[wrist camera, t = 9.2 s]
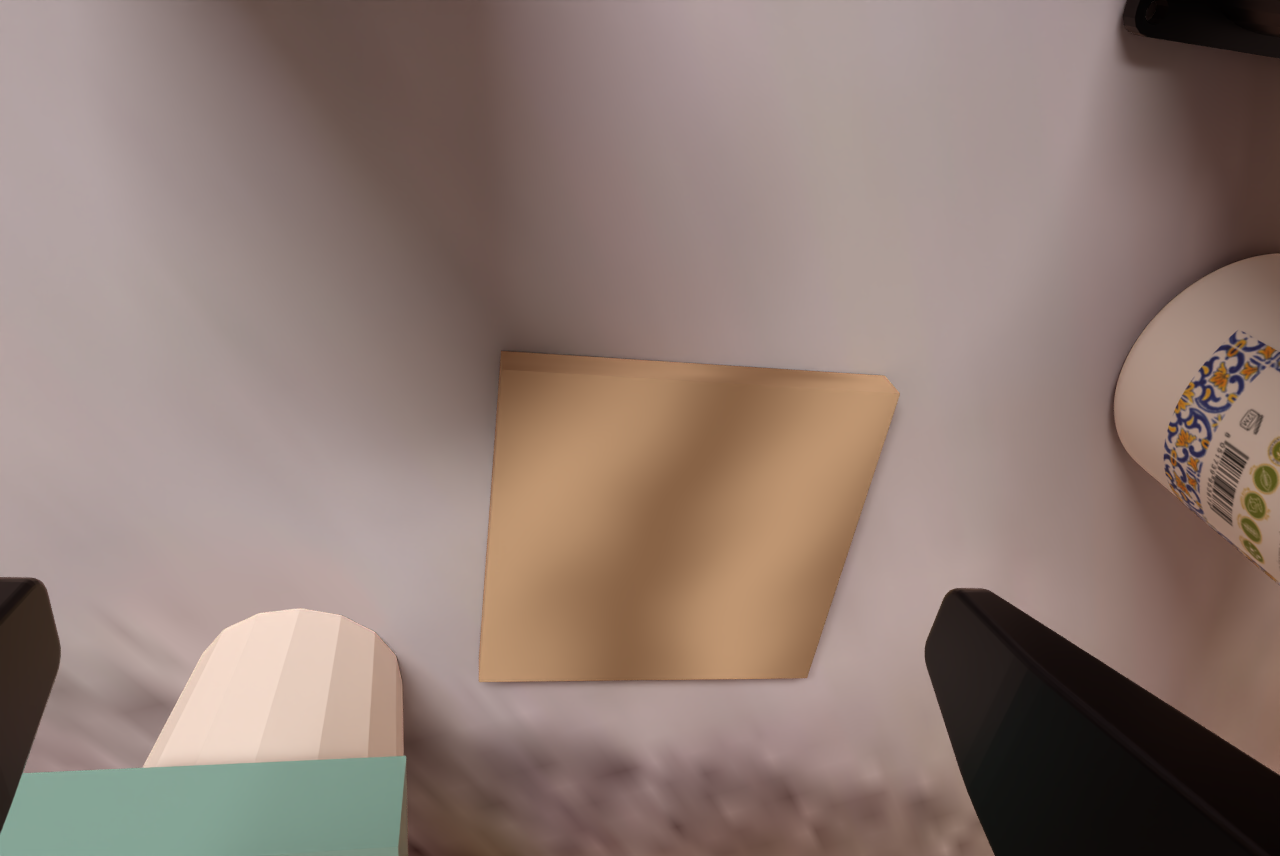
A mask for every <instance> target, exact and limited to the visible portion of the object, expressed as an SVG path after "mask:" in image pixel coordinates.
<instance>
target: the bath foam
mask: <svg viewBox="0 0 1280 856" xmlns="http://www.w3.org/2000/svg"><path fill="white" fill-rule="evenodd" d="M1114 419H1115V425H1116V429H1117V433H1118V435H1119V438H1120V440H1121V442H1122V444H1123V446H1124V448H1125V449H1126V451H1127V452H1128V453H1129V455H1130V456H1131V457H1132V458H1133V459H1134V460H1135V461H1136V462H1137V463H1138V464H1139V465H1140V466H1141V467H1142V468H1143V469H1144V470H1146V471H1147V472H1148V473H1149V474H1150V475H1151V476H1153V477H1154V478H1155V479H1156V480H1157V481H1158V482H1160V483H1161V484H1162V485H1163V486H1164V487H1165V488H1167V489H1168V490H1169V491H1170V492H1171V493H1173V494H1174V495H1175V496H1176V497H1177V498H1178V499H1179V500H1180V501H1181V502H1182V503H1183V504H1184V505H1186V506H1187V507H1188V508H1189V509H1190V510H1191V511H1193V512H1194V513H1195V514H1196V515H1197V516H1199V517H1200V518H1201V519H1202V520H1203V521H1204V522H1206V523H1207V524H1208V525H1209V526H1210V527H1211V528H1213V529H1214V530H1215V531H1216V532H1217V533H1219V534H1220V535H1221V536H1222V537H1223V538H1224V539H1226V540H1227V541H1228V542H1229V543H1230V544H1232V545H1233V546H1234V547H1235V548H1236V549H1237V550H1239V551H1240V552H1241V553H1242V554H1243V555H1244V556H1246V557H1247V558H1248V559H1249V560H1250V561H1252V562H1253V563H1254V564H1255V565H1256V566H1257V567H1259V568H1260V569H1261V570H1262V571H1263V572H1264V573H1266V574H1267V575H1268V576H1269V577H1270V578H1272V579H1273V580H1274V581H1275V582H1276V583H1277V584H1279V585H1280V253H1275V254H1266V255H1260V256H1255V257H1251V258H1247V259H1244V260H1241V261H1237V262H1235V263H1232V264H1229V265H1227V266H1225V267H1222V268H1220V269H1218V270H1216V271H1214V272H1212V273H1210V274H1208V275H1206V276H1205V277H1203V278H1201V279H1200V280H1198V281H1197V282H1195V283H1194V284H1192V285H1191V286H1189V287H1188V288H1186V289H1185V290H1184V291H1182V292H1181V293H1180V294H1178V295H1177V296H1176V297H1175V298H1174V299H1172V300H1171V301H1170V302H1169V303H1168V304H1167V305H1166V306H1165V307H1164V308H1163V309H1162V310H1161V311H1160V312H1159V313H1158V314H1157V315H1156V316H1155V317H1154V318H1153V319H1152V321H1151V322H1150V323H1149V324H1148V325H1147V327H1146V328H1145V329H1144V331H1143V332H1142V333H1141V335H1140V336H1139V338H1138V339H1137V341H1136V342H1135V344H1134V345H1133V347H1132V349H1131V351H1130V352H1129V354H1128V356H1127V358H1126V360H1125V363H1124V365H1123V367H1122V370H1121V373H1120V376H1119V379H1118V382H1117V386H1116V391H1115V398H1114Z"/></svg>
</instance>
